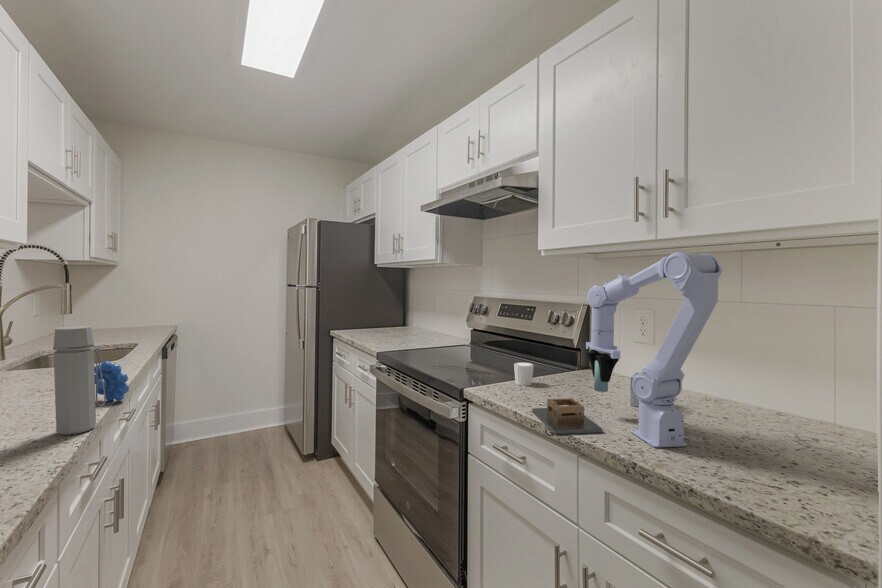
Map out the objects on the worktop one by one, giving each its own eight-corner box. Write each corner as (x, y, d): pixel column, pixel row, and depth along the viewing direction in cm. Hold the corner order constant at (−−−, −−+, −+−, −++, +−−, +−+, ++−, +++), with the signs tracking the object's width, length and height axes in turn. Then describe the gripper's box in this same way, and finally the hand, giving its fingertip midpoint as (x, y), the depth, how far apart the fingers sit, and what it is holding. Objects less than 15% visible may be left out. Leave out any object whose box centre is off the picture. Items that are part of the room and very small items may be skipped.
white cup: (522, 380, 145) (522, 361, 145) (537, 384, 140) (537, 364, 139) (509, 383, 140) (510, 363, 140) (525, 387, 135) (525, 367, 135)
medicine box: (646, 408, 114) (647, 379, 113) (629, 405, 116) (630, 376, 116) (651, 402, 120) (651, 374, 120) (635, 399, 123) (635, 371, 122)
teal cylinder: (610, 391, 107) (611, 362, 106) (598, 392, 106) (598, 362, 106) (603, 388, 110) (604, 359, 110) (591, 388, 110) (592, 360, 109)
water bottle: (59, 439, 90) (55, 330, 89) (52, 431, 95) (48, 327, 93) (110, 427, 97) (107, 326, 96) (102, 420, 102) (99, 324, 101)
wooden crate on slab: (602, 432, 96) (602, 411, 96) (554, 434, 95) (555, 413, 94) (573, 410, 112) (573, 392, 112) (532, 411, 110) (532, 393, 110)
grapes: (78, 404, 114) (77, 363, 114) (101, 397, 121) (100, 358, 120) (114, 406, 113) (112, 365, 112) (135, 399, 119) (134, 360, 119)
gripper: (632, 333, 101) (630, 386, 101) (602, 326, 115) (601, 372, 116) (605, 334, 100) (604, 387, 100) (579, 327, 114) (578, 373, 115)
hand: (601, 379), depth 108 cm, fingers closed on teal cylinder, 3 cm apart
